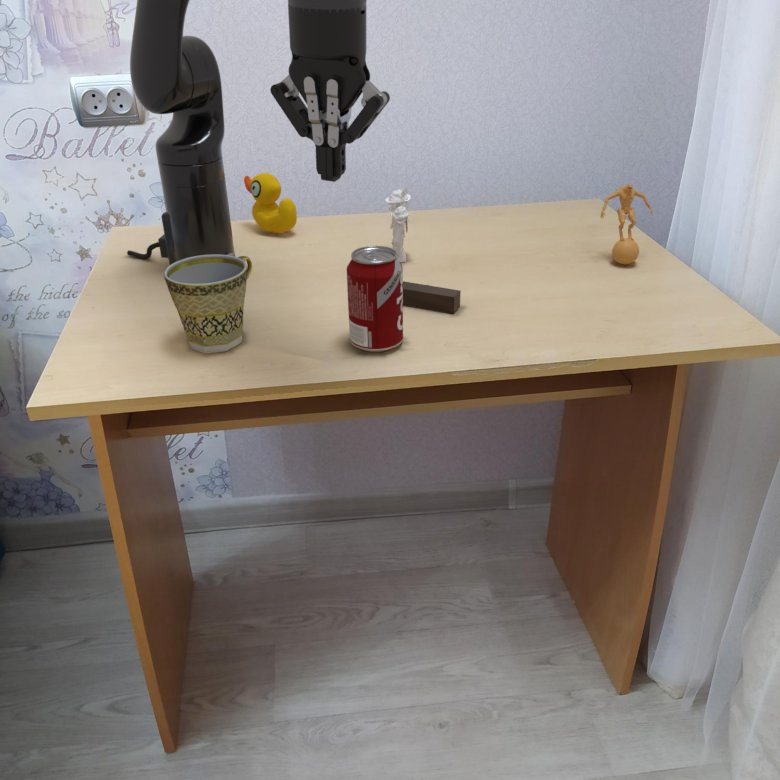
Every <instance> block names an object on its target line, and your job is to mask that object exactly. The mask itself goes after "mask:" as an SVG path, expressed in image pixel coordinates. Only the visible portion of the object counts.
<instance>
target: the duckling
mask: <svg viewBox="0 0 780 780" xmlns="http://www.w3.org/2000/svg"><path fill="white" fill-rule="evenodd" d="M243 184H244V187H245V189H246V190H247V192H248V193H250V194H251V195H252V197H253V199H254V200H255V202H254V203H253V205H252V206H251V207H252V208H251V215H252V218H253V220H254V222H255V223H256V225H257V226H258V227H259V228H260V229H261V230H262V231H264V232H268V233H271V234H272V233H273V234H283V233H287V232H289V231H291V230H292V229H294V227H295V226H296V224H297V219H298V216H297V207H296V204H295V203H294V201H293V200H292V199H291V198H288V197H285V198H282V199H281V200H280V202H279V203H277V201H278V200H279V198H280V197H281V193H282V186H281V184H280V181H279V180H278V178H277V177H276V176H274V175H273V174H272V173H269V172H261V173H258V174H256V175H254V176H253V177H252V178H251V177H250V176H249V175H245V176H244V179H243Z"/></svg>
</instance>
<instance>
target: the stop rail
mask: <svg viewBox="0 0 780 780" xmlns="http://www.w3.org/2000/svg"><path fill="white" fill-rule="evenodd" d="M403 306H406V307H412V308H417V309H423V310H429V311H435V312H441V313H446V314H452V315H454V314H455V313H456V312H457V311H458V310H459V309H460V308H461V290H460V289H459V290H458V289H454V288H448V287H442V286H441V287H440V286H434V285H429V284H423V283H418V282H417V283H416V282H411V281H404V280H403Z"/></svg>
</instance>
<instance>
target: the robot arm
mask: <svg viewBox="0 0 780 780" xmlns="http://www.w3.org/2000/svg"><path fill="white" fill-rule="evenodd" d="M190 1H191V0H136V7H135V15H134V23H133V30H132V37H131V44H130V46H131V47H130V55H129V75H130V82H131V86H132V90H133V93H134V94H135V97H136V99H137V100H138V102H139V104H140V105H141V106H142V107H143V108H144V109H145V110H146V111H148V112H149V113H152V114H155V115H168V114H172V118H171V121H170V123H169V124H168V127H167V128H166V129H165V130H164V131H163V132H162V134H160V136H159V137H158V138H157V139H156V141H155V153H156V160H157V165H158V171H159V177H160V184H161V188H162V194H163V200H164V207H165V211H164V212H163V213H162V214H161V224H162V229H163V234H162V235H161V236H160V237H159V238H158V239H157V242H154V243H151V244H150V245H149V246H148V247H147V248H146V253H140V252H137V251H134V250H127V252H126V254H127V256H130V257H134V258H137V259H141V260H148V259H150V258H151V257H152V255H153V254H152V253H153V250H155V249H157V248H159V253H160V257H161V259H168V264H169V266H170V265H171V264H173V263H175V262H177V261H179V260H182V259H185V258H189V257H194V256H200V255H211V254H219V255H229V256H234V257H236V253H235V247H234V237H233V230H232V222H231V214H230V213H231V212H230V207H229V206H230V205H229V200H228V199H229V198H228V190H227V181H226V174H225V166H224V159H223V149H222V146H223V141H224V138H225V131H226V130H225V114H224V100H223V87H222V78H221V72H220V68H219V64H218V61H217V59H216V56H215V54H214V52H213V51H212V49H211V47H210V46H209V45H208V44H207V42H206V41H205V40H203V39H201V38H199V37H197V36H194V35H184V28H185V21H186V14H187V10H188V7H189V4H190ZM367 1H368V0H287V12H288V13H287V14H288V29H289V30H288V31H289V32H288V34H289V50H290V52H291V61H290V63H289V66H288V75H287V76H286V77H285V78H284V79H282V80H281V81H280V82H277V83H275V84H273V85H271V87H270V94H271V95H272V96H273V99H274V100H275V102H276V103H277V105H278V106H279V108H280V109H281V110H282V112H283V113H284V115H285V117H286V118H287V119H288V121H289V122H290V124H291V125H292V127H293V128H294V129H295V131H296V133H297V134H298V135H299V137H301V138H307V139H309V140H311V141H312V143H314V146H315V169H316V172H317V174H318V175H320V179H321V181H325V182H332V183H335V182H338V180H340V179H341V177H342V176H343V175H344V174H345V172H346V170H347V164H346V162H347V159H346V157H347V156H346V155H347V153H346V152H347V151H346V147H347V146H346V145H347V144H352V143H354V142H355V141H356V140H358V139H361V138H362V137H363V136H364V134H365V133H366V132H367V130H368V129H369V128H370V127H371V125H372V124H373V123H374V122H375V121H376V119H377V117H379V115H380V114H381V112H382V111H383V110H384V109H385V107H386V106H387V105H388V103H389V102H390V100H391V97H390V94H389V93H388V92H387V91H384V90H383V91H380V89H379V88H378V87H377V86H376V85H374V83H373V82H372V81H371V73H370V70H369V68H368V65H367V62H366V59H367V57H366V55H367ZM360 96H362V97H361V100H360V103H361V104H360V105H361V106H362V107H363V108H362V109H361V110H360V111H359V113H358V114H357V115H356V117H355V118H354V120H353V121H352V122H351V123H349V122H350V120H351V117H352V108H353V107H354V105H355V104H356V102H357V101H358V100H359V98H360ZM302 99H303V100H304V101H303V100H302ZM304 102H305V103H306V104H305V103H304ZM349 124H350V125H349Z"/></svg>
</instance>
